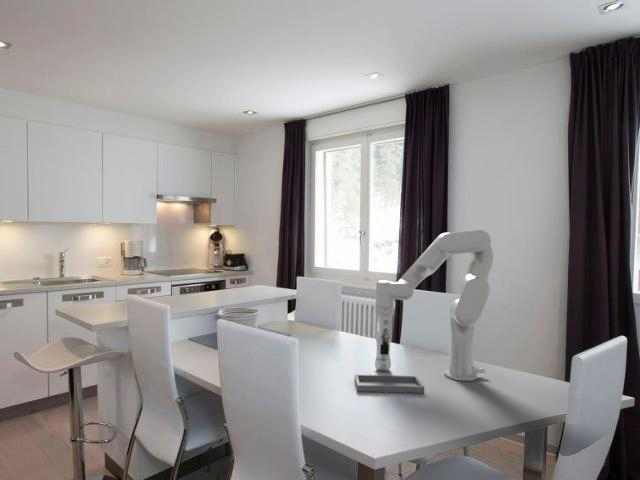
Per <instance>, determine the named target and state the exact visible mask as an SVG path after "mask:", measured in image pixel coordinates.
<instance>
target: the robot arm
mask: <svg viewBox="0 0 640 480" xmlns="http://www.w3.org/2000/svg"><path fill="white" fill-rule="evenodd" d="M491 241H492V239H491V236H490V234H489V233H488V232H487V231H485V230H483V229H472V230H465V231H464V230H463V231H456V232H455V231H454V232H453V231H452V232H443V233H440V234H439V235H438V236H437V237H436V238H435V239H434V241H433V242H432V243H431V244H430V245H429V246H428V247H427V248H426V250H425V251H424V252H423V253H422V254H421V255H420V256H419V257H418V258H417V259H416V260H415V262H413V264H412V265H411V266H410V267H409V268H408V269H407V270H406V272H405V273H404V274H402V276H401V277H400V278H399V279H398V281H396V282H395V281H391V280H385V279H383V280H381V279H380V280H378V281H377V282H376V284H375V285H376V287H375V288H376V289H375V309H374V313H375V314H376V315H377V321H376V322H377V323H376V332H377V331H378V333H379V338H380V339H381V343H382V344H381V350H380V354H383V355H388V351H389V341H388V338H389V339H391V340H392V338H393V337H392V334H393V333H392V330H393V329H392V326H393V324H392V316H394V309H395V308H394V305H395V300H399V301H408V300H410V299H411V298H413V296H414V293H415V292H414V290H415V289H416V288H417V287H418V286H419V284H421V283H422V281H423V280H425V279H426V278H427V277H429V276H431V275H433V274H434V273H435V272H436V271H437V270H438V269H439V268H440V266H441V265H442V264H444V262H445V261H446V260H447V259H448V258H449V256H451V255H457V254H458V255H459V254H468V253H470V259H469V262H468V266H467V267H466V271H465V274H464V276H463V277H462V280H461V282H460V283H461V284H460V290H461V291H462V292H461V295H460V296H459V298H457V299H456V298H455V299H454V300H453V301H452V303H451V304H450V307H449V345H448V349H449V350H448V368H447V369H445V370H444V376H445V377H447V378H449V379H451V380H456V381H463V382H472V381H475V380H476V379H478V373H479V374H486V368H485V367H483V368H482V367H480V366H474V358H475V357H474V352H475V349H474V348H475V331H476V330H475V325H476V324H477V323H478V322H479V320H480V318H481V316H482V313H483V311H484V308H485V307H486V304H487V301H488V297H489V296H490V289H491V288H490V284H489V281H488V278H489V275H490V272H491V269H492V266H493V263H494V262H493V261H494V251H493V249H492V246H491ZM383 332H384V333H383ZM383 336H385V337H383Z"/></svg>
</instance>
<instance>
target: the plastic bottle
mask: <svg viewBox="0 0 640 480" xmlns="http://www.w3.org/2000/svg"><path fill="white" fill-rule="evenodd" d="M383 333H384V332H383ZM383 337H385V336H383ZM388 341H389V351H388V355H383V354H380V350H381V344H382V343H381V339H380V338H379V333H378V331H377V330H376V333H375V343H376V355H375V361H374V367H375V369H376V370H377V371H380V372H389V371H390V369H392V368H391V367H392V363H391V361H392V360H391V352H390V350H391V349H390V348H391V342H392V338H391V339H389V338H388Z"/></svg>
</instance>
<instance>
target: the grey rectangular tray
mask: <svg viewBox="0 0 640 480" xmlns="http://www.w3.org/2000/svg"><path fill="white" fill-rule="evenodd" d="M354 385H355V388H356V393H364V394H365V393H367V394H368V393H369V394H399V395H401V394H407V395H425V386H424V384H423V383H422V382H421V380H420V379H419V377H418V376H417V375H392V374H391V375H390V374H356V373H355V374H354Z"/></svg>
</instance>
